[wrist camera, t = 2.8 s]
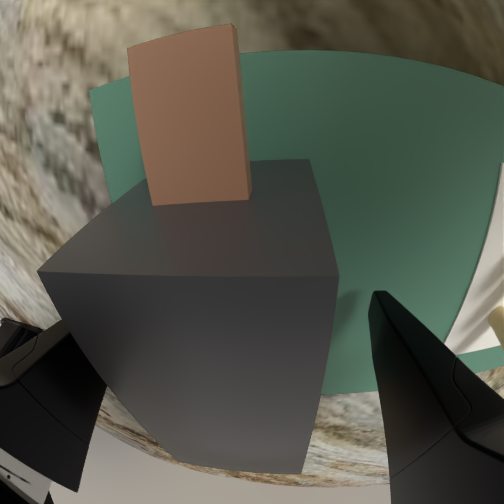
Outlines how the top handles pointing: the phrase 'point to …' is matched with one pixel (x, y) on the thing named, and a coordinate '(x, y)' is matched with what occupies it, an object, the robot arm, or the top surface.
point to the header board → (374, 187)
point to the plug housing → (205, 272)
